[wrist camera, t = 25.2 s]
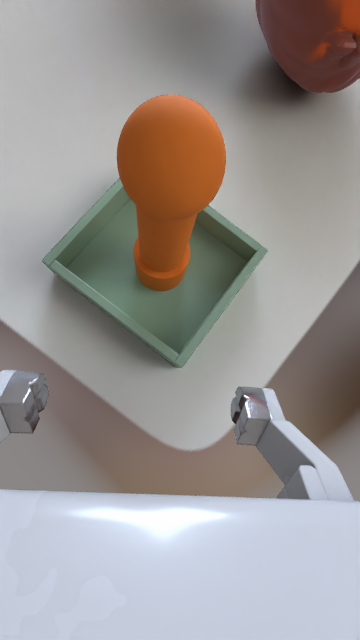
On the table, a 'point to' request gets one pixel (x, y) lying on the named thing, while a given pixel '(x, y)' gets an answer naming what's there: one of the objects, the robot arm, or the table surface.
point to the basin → (138, 300)
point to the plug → (169, 181)
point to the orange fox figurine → (314, 40)
